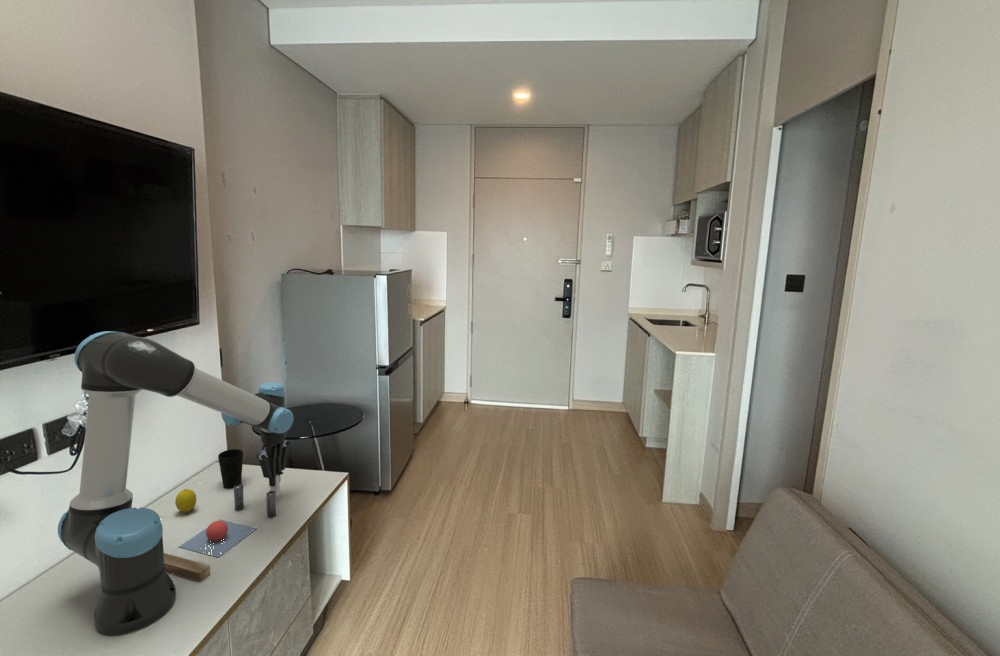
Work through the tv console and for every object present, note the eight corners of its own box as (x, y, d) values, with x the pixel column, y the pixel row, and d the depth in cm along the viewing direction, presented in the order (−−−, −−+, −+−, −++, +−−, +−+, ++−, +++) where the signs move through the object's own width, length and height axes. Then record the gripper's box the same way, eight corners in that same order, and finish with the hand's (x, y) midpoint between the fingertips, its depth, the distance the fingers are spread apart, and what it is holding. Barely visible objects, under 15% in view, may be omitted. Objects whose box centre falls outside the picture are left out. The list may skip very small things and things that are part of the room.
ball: (230, 518, 134) (233, 533, 136) (215, 515, 136) (218, 530, 137) (215, 531, 129) (218, 546, 131) (199, 527, 130) (202, 543, 132)
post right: (272, 518, 145) (271, 495, 143) (265, 517, 145) (264, 494, 144) (278, 514, 147) (277, 491, 146) (271, 512, 148) (270, 490, 146)
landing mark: (218, 558, 126) (218, 557, 126) (178, 547, 129) (178, 546, 129) (257, 528, 139) (257, 528, 139) (219, 519, 143) (219, 519, 143)
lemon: (201, 508, 148) (199, 485, 147) (188, 517, 143) (186, 494, 141) (185, 506, 149) (183, 483, 147) (171, 516, 143) (170, 492, 142)
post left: (239, 511, 148) (238, 488, 146) (232, 509, 148) (231, 487, 147) (245, 507, 150) (244, 484, 149) (239, 505, 151) (238, 483, 149)
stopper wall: (200, 581, 117) (199, 573, 117) (140, 564, 122) (139, 556, 121) (210, 573, 120) (209, 565, 119) (151, 557, 125) (150, 549, 124)
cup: (221, 481, 165) (219, 450, 163) (245, 478, 168) (243, 447, 166) (218, 492, 158) (216, 460, 156) (243, 488, 161) (242, 456, 159)
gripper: (277, 420, 159) (279, 481, 163) (248, 434, 146) (251, 500, 151) (295, 423, 157) (297, 485, 161) (268, 437, 145) (270, 505, 149)
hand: (275, 492), depth 156 cm, fingers closed
